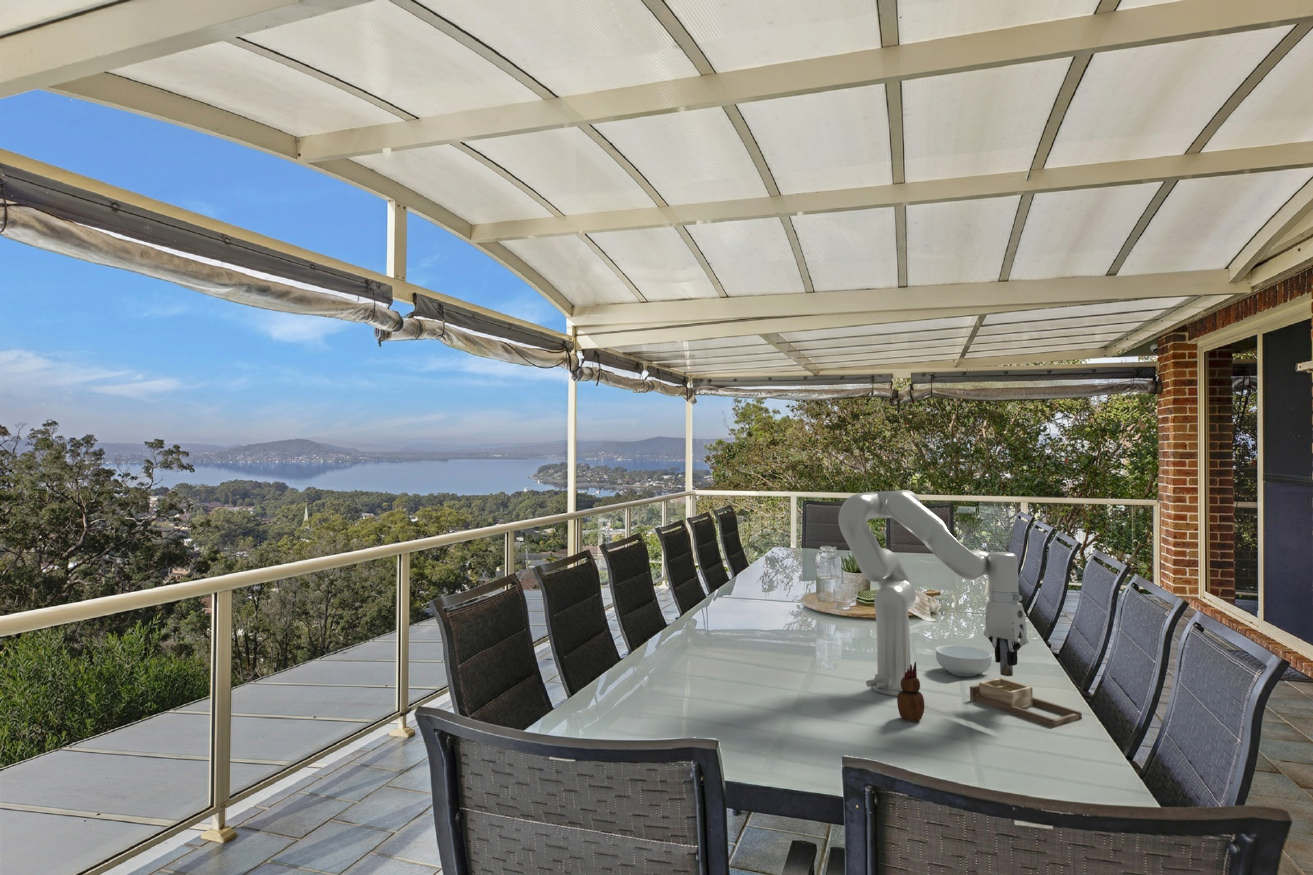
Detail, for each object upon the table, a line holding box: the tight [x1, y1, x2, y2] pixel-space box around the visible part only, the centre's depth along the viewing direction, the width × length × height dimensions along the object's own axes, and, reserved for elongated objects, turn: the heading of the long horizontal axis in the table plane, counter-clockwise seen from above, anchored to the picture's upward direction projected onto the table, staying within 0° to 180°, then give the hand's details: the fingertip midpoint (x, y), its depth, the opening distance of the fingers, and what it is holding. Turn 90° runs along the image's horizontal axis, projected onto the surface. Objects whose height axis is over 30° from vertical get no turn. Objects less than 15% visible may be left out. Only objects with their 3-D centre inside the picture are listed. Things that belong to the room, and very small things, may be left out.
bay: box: [969, 684, 1083, 728], centre depth 200 cm, size 13×24×5 cm, turn 29°
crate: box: [978, 677, 1034, 709], centre depth 205 cm, size 9×10×5 cm
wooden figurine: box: [896, 661, 925, 722], centre depth 196 cm, size 7×6×15 cm
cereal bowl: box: [935, 645, 993, 678], centre depth 237 cm, size 17×17×7 cm
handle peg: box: [999, 638, 1014, 677], centre depth 205 cm, size 3×3×10 cm
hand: (1006, 662), depth 205 cm, fingers closed on handle peg, 3 cm apart
